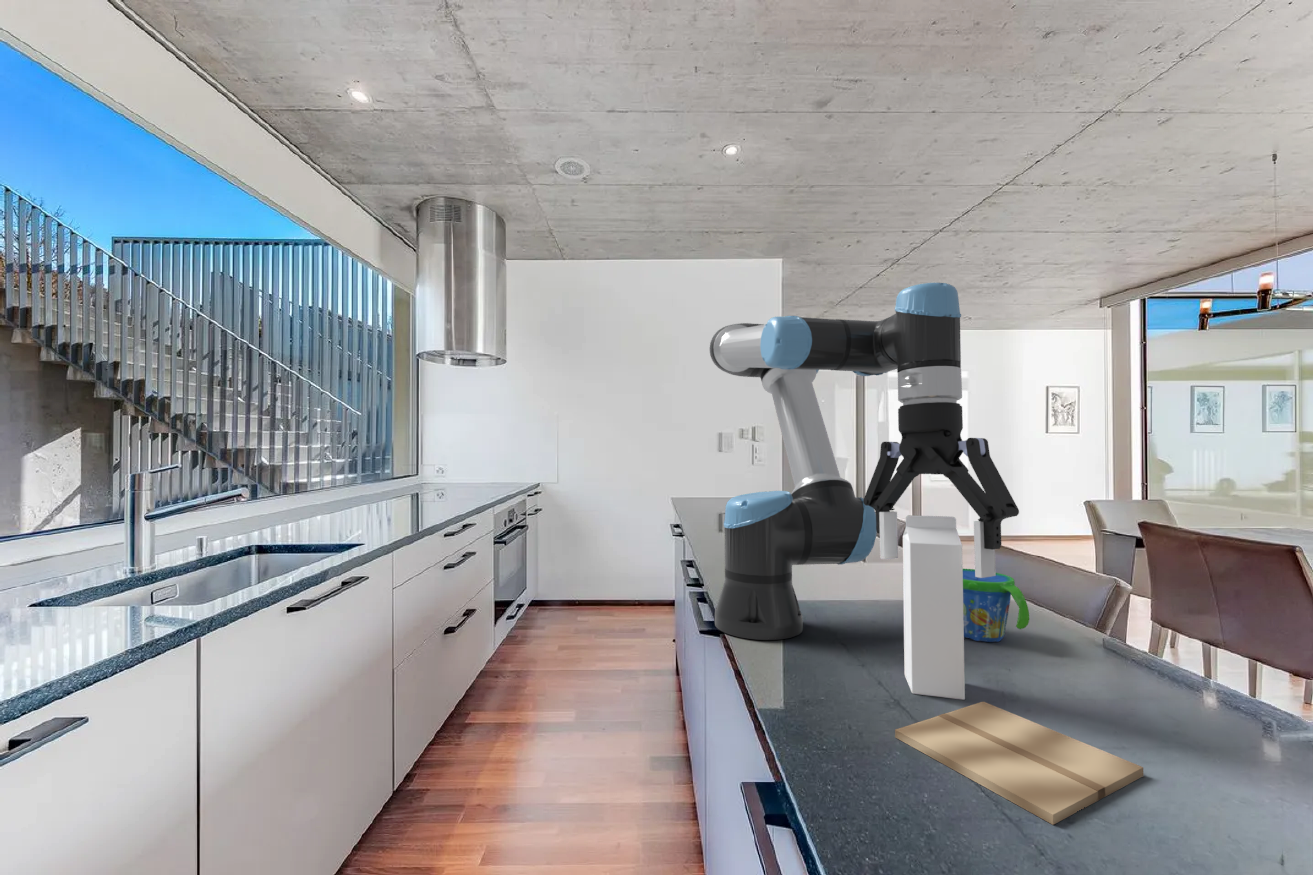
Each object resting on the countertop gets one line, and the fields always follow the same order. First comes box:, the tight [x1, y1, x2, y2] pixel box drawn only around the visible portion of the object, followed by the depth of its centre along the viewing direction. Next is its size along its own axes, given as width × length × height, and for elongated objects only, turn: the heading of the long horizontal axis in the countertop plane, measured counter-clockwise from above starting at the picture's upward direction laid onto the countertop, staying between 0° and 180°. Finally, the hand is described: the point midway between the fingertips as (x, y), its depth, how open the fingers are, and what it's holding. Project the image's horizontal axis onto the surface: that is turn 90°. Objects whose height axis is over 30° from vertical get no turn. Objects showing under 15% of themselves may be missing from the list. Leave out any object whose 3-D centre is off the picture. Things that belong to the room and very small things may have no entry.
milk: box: [902, 514, 966, 701], centre depth 69 cm, size 6×6×22 cm
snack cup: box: [963, 568, 1030, 643], centre depth 89 cm, size 16×10×10 cm
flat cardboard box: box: [894, 701, 1144, 826], centre depth 53 cm, size 15×15×1 cm
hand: (933, 566), depth 69 cm, fingers open, 13 cm apart
